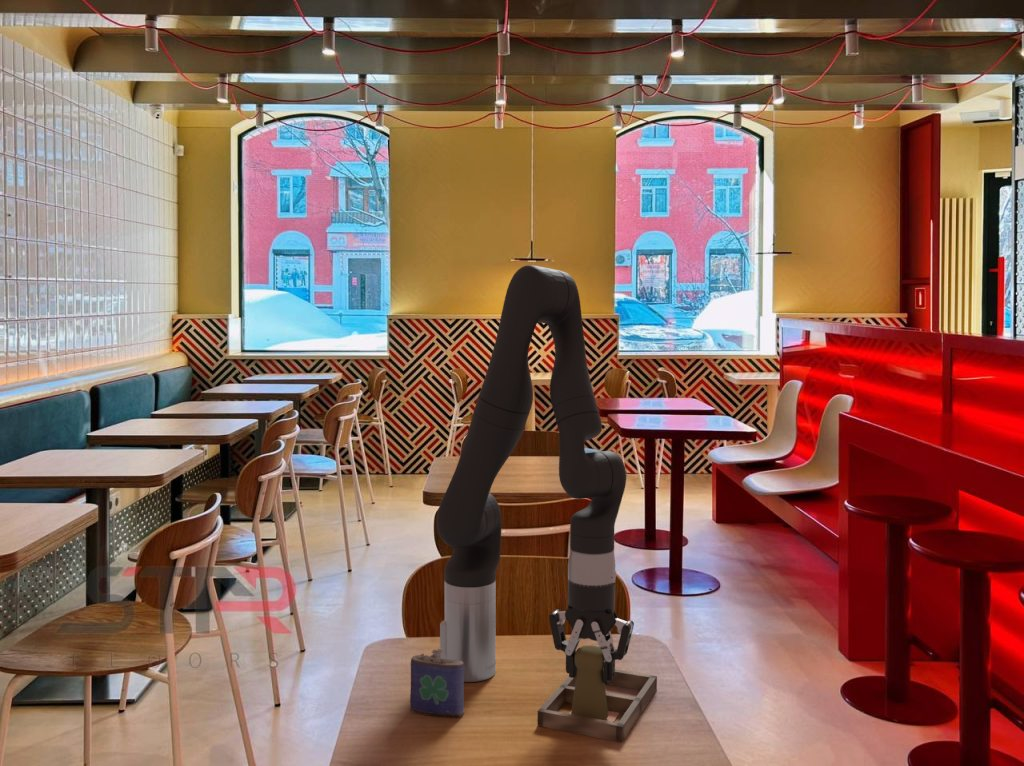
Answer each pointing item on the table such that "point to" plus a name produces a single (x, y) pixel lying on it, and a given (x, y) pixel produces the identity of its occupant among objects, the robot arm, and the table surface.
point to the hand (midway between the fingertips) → (590, 678)
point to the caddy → (614, 703)
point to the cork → (589, 684)
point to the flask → (437, 686)
